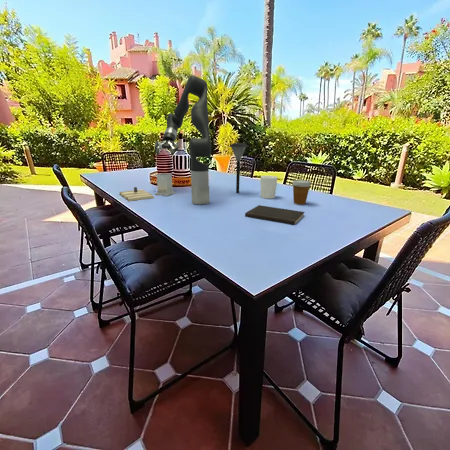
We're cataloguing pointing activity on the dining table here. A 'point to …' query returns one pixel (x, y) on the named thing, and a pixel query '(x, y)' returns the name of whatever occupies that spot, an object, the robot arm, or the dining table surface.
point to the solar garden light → (238, 159)
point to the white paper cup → (268, 186)
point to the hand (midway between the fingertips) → (164, 154)
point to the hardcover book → (275, 214)
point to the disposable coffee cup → (300, 191)
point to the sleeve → (164, 184)
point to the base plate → (136, 195)
